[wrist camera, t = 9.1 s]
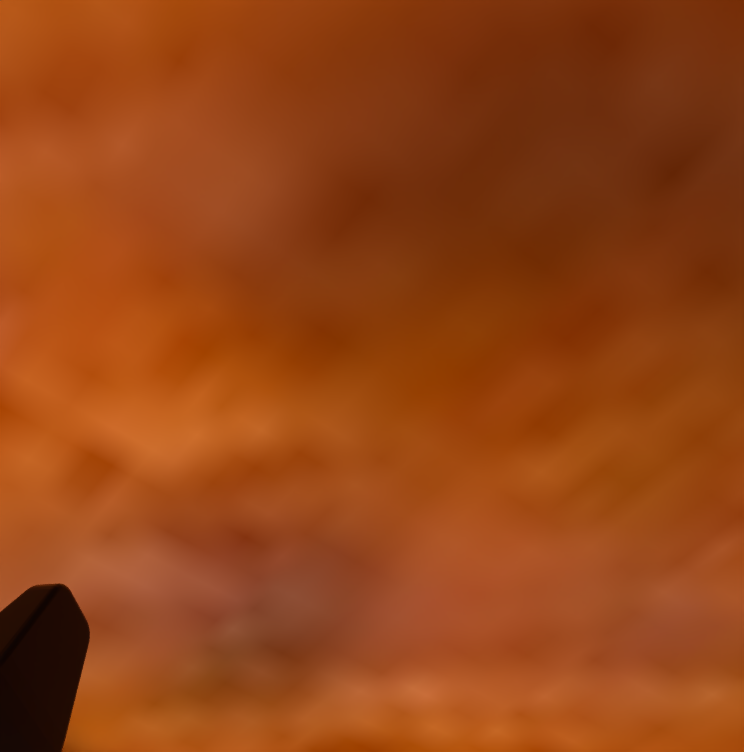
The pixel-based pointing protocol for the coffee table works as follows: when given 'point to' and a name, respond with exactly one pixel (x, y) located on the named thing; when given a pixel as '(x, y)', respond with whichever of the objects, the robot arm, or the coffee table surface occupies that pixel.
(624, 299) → the coffee table surface
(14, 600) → the robot arm
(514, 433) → the coffee table surface
